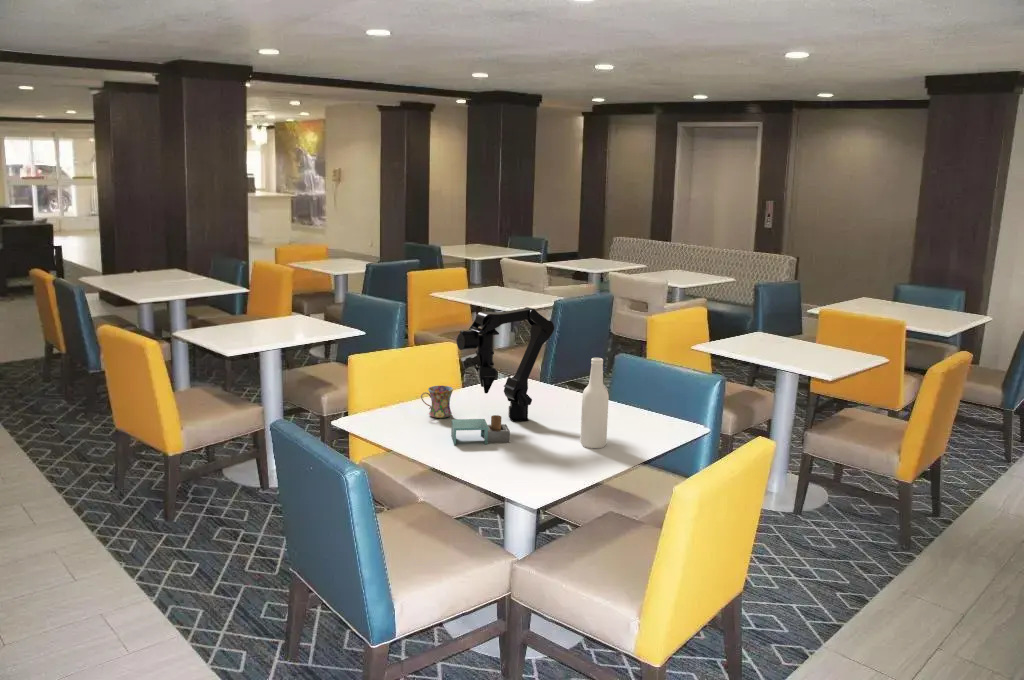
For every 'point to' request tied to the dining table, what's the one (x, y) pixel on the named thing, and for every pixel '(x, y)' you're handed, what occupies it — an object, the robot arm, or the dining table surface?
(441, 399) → the mug
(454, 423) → the station
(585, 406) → the alcohol
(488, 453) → the dining table surface
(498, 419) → the peg
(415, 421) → the dining table surface
